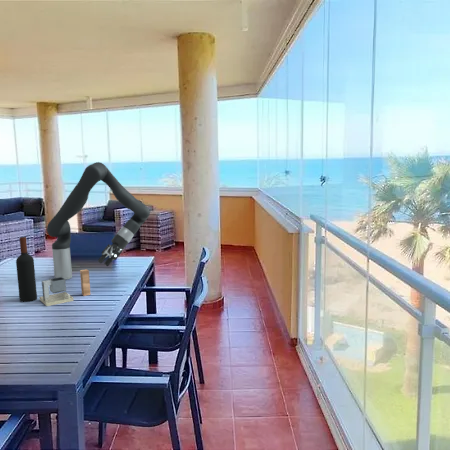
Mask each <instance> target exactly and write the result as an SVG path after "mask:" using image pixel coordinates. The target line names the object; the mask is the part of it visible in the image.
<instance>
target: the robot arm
mask: <svg viewBox="0 0 450 450" xmlns="http://www.w3.org/2000/svg"><path fill="white" fill-rule="evenodd" d="M101 181H102V182H103V183H104V184H106V186H108V187H109V189H110V190H111V192H112V195H113V196H114V198H116V200H117V202H119V203H120V204H121V205H122V206H124V208H126V209H128V210H131V212H133V215H132V216H131V217H130V219H128V220H127V221H125V222H126V223H124V225H123V226H122V227H121V228H120V229H119V230H118V232H117V233H116V234H115V235H114V236H113V238H112V239H111V240H110V241H111V243H112V244H109V243H108V244H107V246H105V248H104V249H103V250H102V251H101V256H100V257H99V258H98V260H97V262H98V263H99V264H102V263H103V262H104V260H105V259H106V258H107V259H106V260H105V262H104V263H103V264H104V265H105V266H106V267H108V266H110V264H112V262H113V261H116V260H117V259H118V258H119V256H120V255H121V254H122V253H123V250H125V248H126V247H127V246H128V245H129V243H130V242H131V241H132V239H133V237H134V236H135V234H137V232H138V231H139V229H140V227H141V226H143V225H144V224H145V222H146V221H147V220H148V218H149V216H150V215H151V214H150V213H151V211H150V209H149V207H148V206H147V205H146V204H145V203H143V202H142V201H140V200H139V199H137V198H136V197H135V196H134V195H133V194H132V193H131V192H130V191H128V190H127V188H126V187H124V186H123V184H122V183H120V182H119V180H118V179H117V178H116V176H114V175H113V173H112V172H111V171H110V169H109V168H108V167H107V166H106V165H105V163H102V162H99V161H98V162H94V163H91V164H89V165H87V166H86V168H85V169H84V170H83V173H82V175H81V177H80V178H79V181H78V182H77V184H76V185H75V186H74V187H73V189H72V190H71V191H70V193H69V194H68V196H67V197H66V200H65V201H64V203H63V204H62V205H61V207H60V209H59V210H58V211H57V213H56V214H55V215H54V216H53V218H51V220H50V221H49V222H48V223H47V226H46V232H47V234H48V235H49V236H50V237H52V238H56V237H57V238H56V239H55V241H54V242H53V243H52V244H51V250H52V262H53V274H54V278H59V277H62V278H64V279H65V281H66V280H69V279H73V271H72V258H71V257H72V256H71V243H72V242H71V241H72V240H71V239H72V236H71V233H72V232H71V224H70V222H69V221H70V220H71V219H72V218H73V217H74V216H76V215H77V214H79V213H80V212H81V211H82V209H83V208H84V206H85V205H86V203H87V201H88V198H89V195H90V192H91V190H92V189H93V188H94V187H95V185H97V183H98V182H101Z"/></svg>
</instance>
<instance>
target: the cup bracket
mask: <svg viewBox="0 0 450 450" xmlns="http://www.w3.org/2000/svg"><path fill="white" fill-rule="evenodd" d="M66 284H67V283H66V280H65V279H64V278H62V277H59V278H55V277H54V278H49V279H47V280H42V281H41V286H42V287H41V289H42V296H39V301H40V302H42V304H44V306H46V307H50V306H55V305H60V304H64V303H70V302H74V297H73V296H72V295H70V294H69V293H68V292H66V291H67V285H66ZM50 292H51V293H52V294H50Z"/></svg>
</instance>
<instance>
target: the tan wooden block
mask: <svg viewBox="0 0 450 450" xmlns="http://www.w3.org/2000/svg"><path fill="white" fill-rule="evenodd" d="M79 272H80V273H79V276H80V289H81V295H82V296H83V297H85V296H90V295H91V282H90V279H91V278H90V270H89V269H81V270H79Z"/></svg>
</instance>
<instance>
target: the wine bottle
mask: <svg viewBox="0 0 450 450" xmlns="http://www.w3.org/2000/svg"><path fill="white" fill-rule="evenodd" d="M27 244H28V242H27V236H20V237H19V246H20V255H19V256H18V257H17V258H16V259H15V264H16V266H15V267H16V275H17V285H18V287H17V288H18V297H19V298H18V299H19V303H30V302H34V301H37V300H38V294H37V284H36V283H37V282H36V280H37V279H36V272H35V271H36V270H35V259H34V257H33V256H32V255H30V254H29V253H28V245H27Z"/></svg>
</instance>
